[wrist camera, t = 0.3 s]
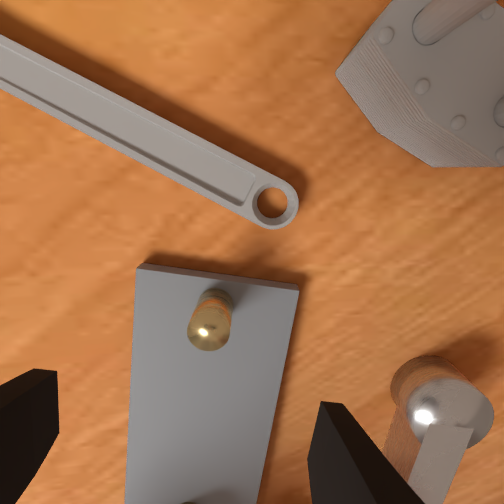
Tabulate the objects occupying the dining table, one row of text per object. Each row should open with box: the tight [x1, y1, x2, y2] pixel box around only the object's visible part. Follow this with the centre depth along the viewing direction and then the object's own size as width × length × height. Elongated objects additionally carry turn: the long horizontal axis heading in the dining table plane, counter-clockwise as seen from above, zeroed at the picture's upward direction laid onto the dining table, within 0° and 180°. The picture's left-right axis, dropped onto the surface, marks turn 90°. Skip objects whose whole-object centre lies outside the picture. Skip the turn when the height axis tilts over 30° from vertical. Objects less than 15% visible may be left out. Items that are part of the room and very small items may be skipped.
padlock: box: [335, 0, 504, 167], centre depth 11 cm, size 7×4×10 cm, turn 51°
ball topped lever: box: [382, 356, 494, 504], centre depth 19 cm, size 12×4×3 cm, turn 172°
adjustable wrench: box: [0, 34, 299, 229], centre depth 15 cm, size 25×6×2 cm, turn 58°
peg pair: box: [181, 288, 233, 504], centre depth 18 cm, size 18×2×3 cm, turn 172°
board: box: [125, 263, 299, 504], centre depth 20 cm, size 19×9×1 cm, turn 172°
